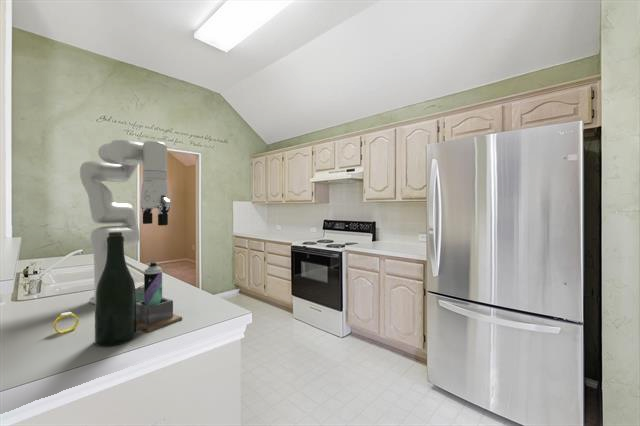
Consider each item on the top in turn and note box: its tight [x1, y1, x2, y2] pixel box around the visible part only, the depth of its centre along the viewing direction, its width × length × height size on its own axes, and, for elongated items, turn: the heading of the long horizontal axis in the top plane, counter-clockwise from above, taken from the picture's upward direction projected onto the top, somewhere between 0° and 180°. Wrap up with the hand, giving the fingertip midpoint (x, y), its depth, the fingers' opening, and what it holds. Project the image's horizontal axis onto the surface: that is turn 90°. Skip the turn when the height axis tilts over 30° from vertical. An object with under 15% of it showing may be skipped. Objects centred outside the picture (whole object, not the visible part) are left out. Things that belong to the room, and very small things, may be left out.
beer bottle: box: [94, 232, 138, 347], centre depth 87 cm, size 10×10×33 cm
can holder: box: [136, 296, 183, 333], centre depth 100 cm, size 14×12×7 cm
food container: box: [135, 285, 144, 303], centre depth 111 cm, size 12×6×10 cm, turn 168°
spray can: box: [143, 261, 163, 306], centre depth 100 cm, size 6×6×20 cm
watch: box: [52, 311, 79, 334], centre depth 92 cm, size 6×3×6 cm, turn 141°
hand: (155, 224), depth 102 cm, fingers open, 9 cm apart
